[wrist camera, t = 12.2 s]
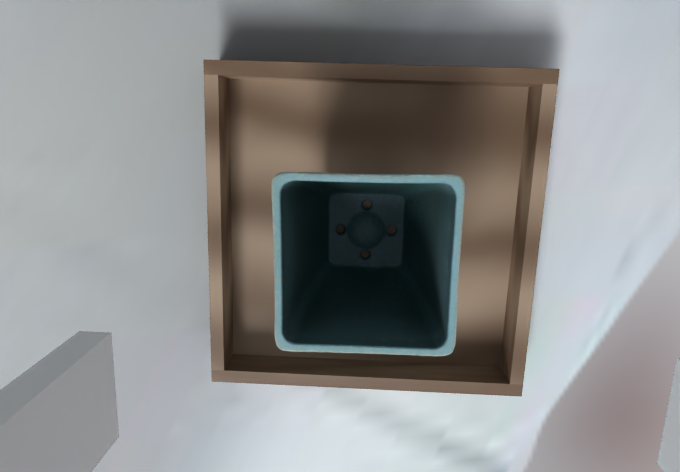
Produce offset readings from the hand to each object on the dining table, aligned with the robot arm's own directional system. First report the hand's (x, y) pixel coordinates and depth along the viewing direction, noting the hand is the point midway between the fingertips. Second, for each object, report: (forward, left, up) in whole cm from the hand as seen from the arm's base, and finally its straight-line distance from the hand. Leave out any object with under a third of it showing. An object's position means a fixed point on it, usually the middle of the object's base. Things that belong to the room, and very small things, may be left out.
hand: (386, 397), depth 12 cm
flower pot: (0, 0, -21) cm, 21 cm away
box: (0, 0, -22) cm, 22 cm away
